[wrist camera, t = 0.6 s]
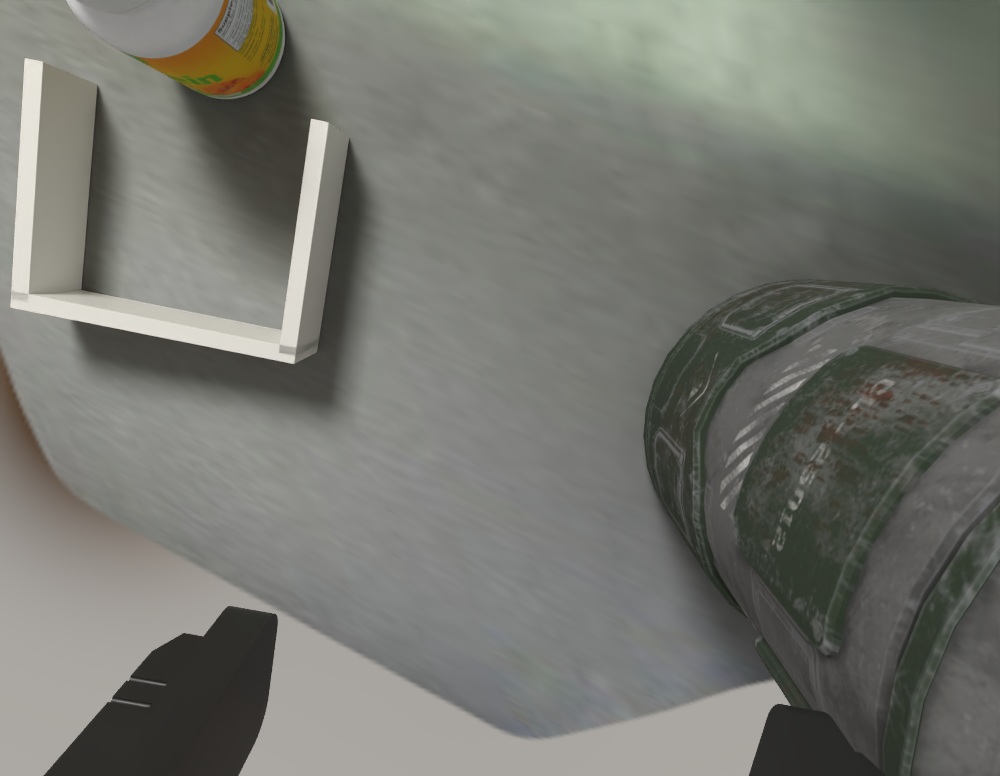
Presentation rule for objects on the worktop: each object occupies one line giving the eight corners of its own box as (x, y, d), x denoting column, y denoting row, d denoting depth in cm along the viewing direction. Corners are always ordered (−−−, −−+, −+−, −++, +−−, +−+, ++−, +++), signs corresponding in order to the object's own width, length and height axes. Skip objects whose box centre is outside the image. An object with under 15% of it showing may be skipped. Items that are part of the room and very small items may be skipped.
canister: (826, 215, 34) (2121, 49, 7) (982, 447, 37) (2410, 1020, 9) (581, 399, 36) (817, 844, 9) (743, 608, 39) (1330, 1475, 11)
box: (81, 81, 33) (24, 58, 29) (349, 137, 34) (328, 122, 30) (65, 301, 35) (10, 307, 32) (317, 352, 36) (294, 364, 32)
